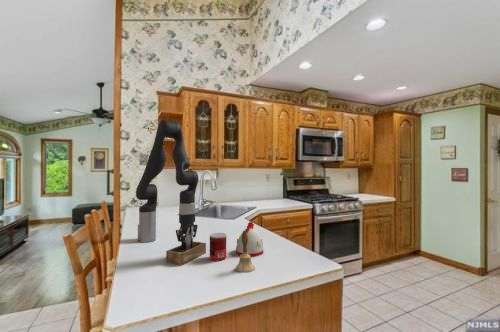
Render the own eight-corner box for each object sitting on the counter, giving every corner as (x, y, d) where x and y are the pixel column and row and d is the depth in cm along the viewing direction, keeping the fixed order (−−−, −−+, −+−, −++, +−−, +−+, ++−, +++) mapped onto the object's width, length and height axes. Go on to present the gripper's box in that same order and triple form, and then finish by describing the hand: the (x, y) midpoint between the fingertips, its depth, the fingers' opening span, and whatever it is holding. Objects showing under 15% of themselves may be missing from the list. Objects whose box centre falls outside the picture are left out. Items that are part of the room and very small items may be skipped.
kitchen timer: (267, 250, 131) (267, 221, 131) (256, 258, 118) (256, 226, 119) (243, 246, 137) (243, 219, 137) (230, 254, 124) (230, 223, 124)
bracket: (180, 255, 119) (180, 235, 119) (185, 252, 123) (185, 233, 123) (188, 256, 117) (188, 237, 117) (194, 253, 121) (194, 234, 121)
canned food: (229, 256, 121) (228, 233, 122) (221, 262, 114) (221, 237, 114) (214, 254, 124) (214, 232, 124) (206, 260, 116) (206, 236, 116)
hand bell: (248, 274, 101) (248, 233, 101) (231, 269, 105) (231, 231, 105) (258, 267, 108) (258, 229, 108) (242, 263, 112) (242, 227, 112)
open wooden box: (166, 262, 114) (166, 251, 114) (191, 250, 130) (191, 240, 130) (182, 265, 110) (182, 253, 110) (205, 253, 126) (205, 242, 126)
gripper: (190, 209, 128) (190, 243, 128) (170, 214, 115) (170, 252, 115) (202, 210, 125) (202, 245, 125) (183, 215, 112) (183, 254, 112)
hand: (187, 248), depth 120 cm, fingers closed on bracket, 4 cm apart
